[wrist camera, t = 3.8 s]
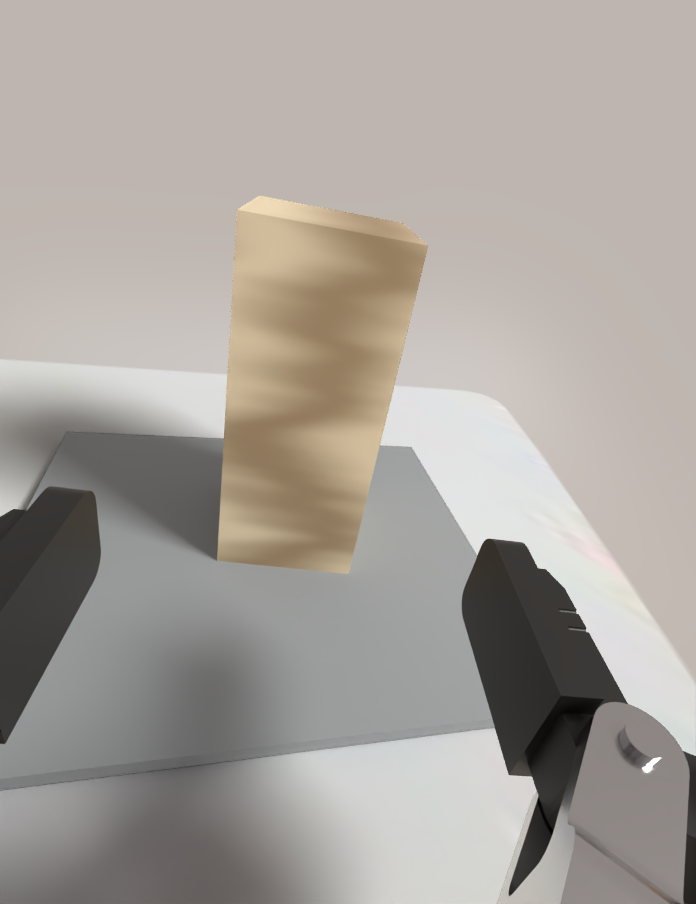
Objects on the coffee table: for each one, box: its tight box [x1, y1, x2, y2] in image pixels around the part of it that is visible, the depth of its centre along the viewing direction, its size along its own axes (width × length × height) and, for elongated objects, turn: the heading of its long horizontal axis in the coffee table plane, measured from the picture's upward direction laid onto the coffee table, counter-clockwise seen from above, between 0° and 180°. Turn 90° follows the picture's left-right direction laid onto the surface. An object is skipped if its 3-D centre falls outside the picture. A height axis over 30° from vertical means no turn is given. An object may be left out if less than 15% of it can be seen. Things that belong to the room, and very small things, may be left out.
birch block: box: [217, 196, 428, 574], centre depth 18 cm, size 5×5×12 cm
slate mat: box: [0, 432, 495, 790], centre depth 20 cm, size 18×16×1 cm
